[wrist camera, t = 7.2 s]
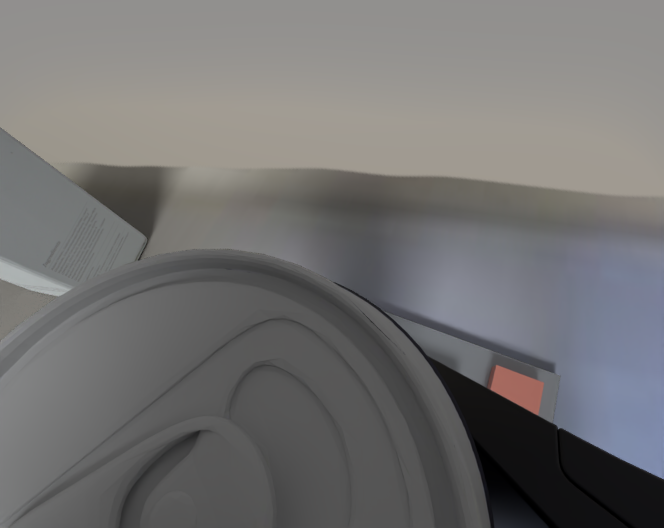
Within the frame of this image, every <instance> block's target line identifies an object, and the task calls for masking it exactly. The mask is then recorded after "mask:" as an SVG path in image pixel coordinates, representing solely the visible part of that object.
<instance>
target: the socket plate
mask: <svg viewBox="0 0 664 528" xmlns="http://www.w3.org/2000/svg"><path fill="white" fill-rule="evenodd" d="M384 312H385V311H384ZM385 313H386V314H387V315H388V316H390V317H391V318H392V319H393V320H395V321H396V322H397V323H398V324H399V325H400V326H401V327H402V328H403V329H404V330H405V331H406V332H407V333H408V334H409V335H410V336H411V337H412V338H413V339H414V341H415V342H416V343H417V344H418V345H419V346H420V347H421V348H422V350H423V351H424V352H425V354H426V355H428V356H429V357H431V358H433V359H435V360H437V361H439V362H440V363H442V364H444V365H446V366H448V367H450V368H452V369H453V370H455V371H457V372H459V373H461V374H463V375H464V376H466V377H468V378H470V379H472V380H474V381H475V382H477V383H479V384H481V385H483V386H485V387H487V388H488V389H490V390H492V391H494V392H496V393H498V394H499V395H501V396H503V397H505V398H507V399H509V400H510V401H512V402H514V403H516V404H518V405H520V406H521V407H523V408H525V409H527V410H529V411H531V412H533V413H534V414H536V415H538V416H540V417H542V418H544V419H545V420H547V421H549V422H551V423H553V417H554V411H555V405H556V399H557V393H558V388H559V382H560V376H559V375H557V374H554V373H551V372H549V371H546V370H543V369H540V368H538V367H535V366H532V365H530V364H527V363H524V362H521V361H519V360H516V359H513V358H510V357H508V356H505V355H502V354H500V353H497V352H494V351H491V350H489V349H486V348H483V347H481V346H478V345H475V344H472V343H470V342H467V341H464V340H461V339H459V338H456V337H453V336H451V335H448V334H445V333H442V332H440V331H437V330H434V329H431V328H429V327H426V326H423V325H421V324H418V323H415V322H412V321H410V320H407V319H404V318H402V317H399V316H396V315H393V314H391V313H388V312H385Z"/></svg>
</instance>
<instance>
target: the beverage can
mask: <svg viewBox="0 0 664 528" xmlns="http://www.w3.org/2000/svg"><path fill="white" fill-rule="evenodd" d="M0 528H495V527H494V519H493V513H492V508H491V502H490V497H489V492H488V487H487V483H486V480H485V476H484V472H483V468H482V464H481V461H480V458H479V455H478V452H477V449H476V446H475V443H474V440H473V438H472V435H471V433H470V430H469V428H468V425H467V423H466V420H465V418H464V416H463V414H462V412H461V410H460V408H459V406H458V404H457V402H456V400H455V398H454V396H453V394H452V393H451V391H450V389H449V387H448V386H447V384H446V382H445V380H444V379H443V377H442V376H441V374H440V373H439V371H438V370H437V368H436V367H435V365H434V364H433V362H432V361H431V360H430V359H429V357H428V356H427V355H426V354H425V352H424V351H423V350H422V348H421V347H420V346H419V345H418V344H417V343H416V342H415V341H414V339H413V338H412V337H411V336H410V335H409V334H408V333H407V332H406V331H405V330H404V329H403V328H402V327H401V326H400V325H399V324H398V323H397V322H396V321H395V320H393V319H392V318H391V317H390V316H388V315H387V314H386V313H385V312H384V311H382V310H381V309H380V308H378V307H377V306H376V305H374V304H373V303H371V302H370V301H368V300H367V299H365V298H364V297H362V296H360V295H359V294H357V293H355V292H353V291H352V290H350V289H348V288H346V287H343V286H341V285H339V284H337V283H335V282H332V281H330V280H328V279H326V278H324V277H322V276H320V275H318V274H316V273H314V272H312V271H310V270H308V269H306V268H304V267H302V266H299V265H297V264H294V263H291V262H288V261H284V260H281V259H278V258H275V257H271V256H268V255H265V254H259V253H252V252H245V251H238V250H232V249H193V250H186V251H179V252H173V253H166V254H159V255H155V256H152V257H149V258H145V259H142V260H138V261H135V262H131V263H128V264H124V265H122V266H119V267H117V268H115V269H112V270H110V271H108V272H105V273H103V274H101V275H98V276H96V277H94V278H91V279H89V280H87V281H85V282H84V283H82V284H80V285H78V286H77V287H75V288H73V289H71V290H70V291H68V292H66V293H64V294H63V295H61V296H59V297H57V298H56V299H54V300H52V301H51V302H49V303H48V304H47V305H45V306H44V307H43V308H41V309H40V310H38V311H37V312H36V313H34V314H33V315H31V316H30V317H29V318H27V319H26V320H25V321H23V322H22V323H20V324H19V325H18V326H16V327H15V328H14V329H13V330H12V331H11V332H10V333H9V334H7V335H6V336H5V337H4V338H3V339H2V340H1V341H0Z"/></svg>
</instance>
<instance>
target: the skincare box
mask: <svg viewBox="0 0 664 528" xmlns="http://www.w3.org/2000/svg"><path fill="white" fill-rule="evenodd" d="M146 243H147V238H146V237H145V235H143V234H142V233H141V232H139V231H138V230H137V229H135V228H134V227H133V226H131V225H130V224H129V223H127V222H126V221H125V220H123V219H122V218H121V217H119V216H118V215H117V214H115V213H114V212H112V211H111V210H110V209H108V208H107V207H106V206H104V205H103V204H102V203H100V202H99V201H98V200H97V199H95V198H94V197H93V196H91V195H90V194H89V193H87V192H86V191H85V190H83V189H82V188H81V187H80V186H78V185H77V184H75V183H74V182H73V181H71V180H70V179H69V178H67V177H66V176H65V175H63V174H62V173H61V172H59V171H58V170H57V169H55V168H54V167H53V166H51V165H50V164H49V163H47V162H46V161H45V160H43V159H42V158H41V157H39V156H38V155H36V154H35V153H34V152H33V151H31V150H30V149H28V148H27V147H26V146H25V145H23V144H22V143H20V142H19V141H18V140H16V139H15V138H14V137H12V136H11V135H10V134H8V133H7V132H6V131H4V130H3V129H2V128H0V279H2V280H4V281H7V282H10V283H13V284H15V285H18V286H21V287H23V288H26V289H28V290H32V291H36V292H41V293H45V294H50V295H54V296H61V295H63V294H64V293H66V292H68V291H70V290H71V289H73V288H75V287H77V286H78V285H80V284H82V283H84V282H85V281H87V280H89V279H91V278H94V277H96V276H98V275H101V274H103V273H105V272H108V271H110V270H112V269H115V268H117V267H119V266H122V265H124V264H128V263H131V262H135V261H138V259H139V257H140V255H141V253H142V251H143V249H144V247H145V245H146Z"/></svg>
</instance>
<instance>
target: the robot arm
mask: <svg viewBox="0 0 664 528" xmlns="http://www.w3.org/2000/svg"><path fill="white" fill-rule="evenodd" d="M427 356H428V355H427ZM428 357H429V356H428ZM429 359H430V360H431V361H432V362H433V364H434V365H435V367H436V368H437V370H438V371H439V373H440V374H441V376H442V377H443V379H444V380H445V382H446V384H447V386H448V387H449V389H450V391H451V393H452V394H453V396H454V398H455V400H456V402H457V404H458V406H459V408H460V410H461V412H462V414H463V416H464V418H465V420H466V423H467V425H468V428H469V430H470V433H471V435H472V438H473V440H474V443H475V446H476V449H477V452H478V455H479V458H480V461H481V464H482V468H483V472H484V476H485V480H486V483H487V487H488V492H489V497H490V502H491V508H492V513H493V519H494V527H495V528H664V479H662V478H659V477H657V476H655V475H653V474H651V473H649V472H647V471H645V470H643V469H640V468H638V467H636V466H634V465H632V464H630V463H628V462H626V461H623V460H621V459H619V458H617V457H615V456H614V455H612V454H610V453H608V452H606V451H604V450H602V449H600V448H598V447H596V446H594V445H592V444H590V443H588V442H586V441H585V440H583V439H581V438H579V437H577V436H575V435H573V434H572V433H570V432H568V431H566V430H564V429H562V428H559V429H558V427H557V426H556V425H555V424H553V423H551V422H549V421H547V420H545V419H544V418H542V417H540V416H538V415H536V414H534V413H533V412H531V411H529V410H527V409H525V408H523V407H521V406H520V405H518V404H516V403H514V402H512V401H510V400H509V399H507V398H505V397H503V396H501V395H499V394H498V393H496V392H494V391H492V390H490V389H488V388H487V387H485V386H483V385H481V384H479V383H477V382H475V381H474V380H472V379H470V378H468V377H466V376H464V375H463V374H461V373H459V372H457V371H455V370H453V369H452V368H450V367H448V366H446V365H444V364H442V363H440V362H439V361H437V360H435V359H433V358H431V357H429Z"/></svg>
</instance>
